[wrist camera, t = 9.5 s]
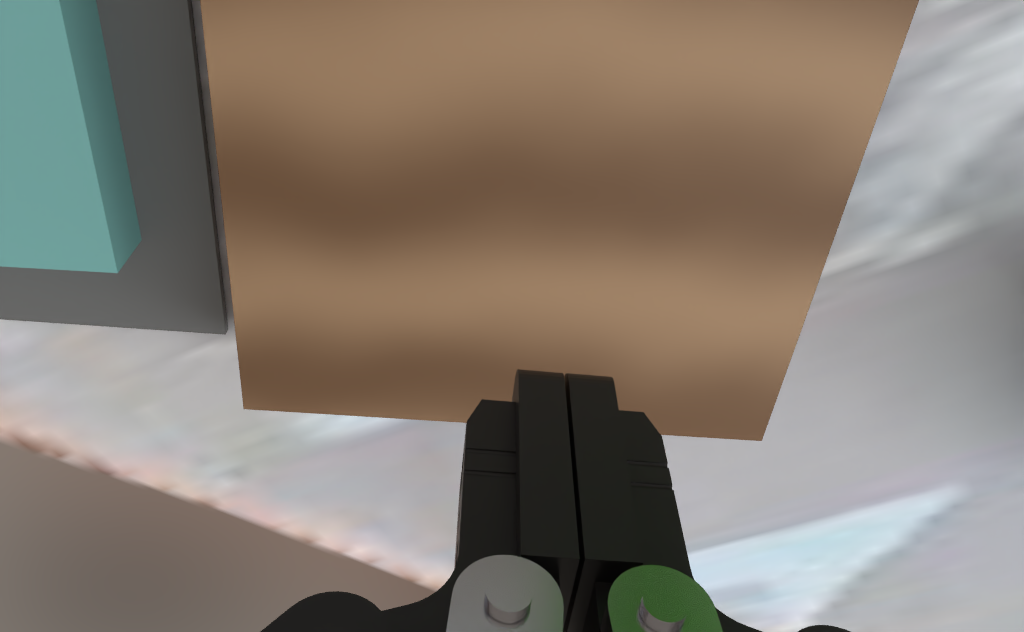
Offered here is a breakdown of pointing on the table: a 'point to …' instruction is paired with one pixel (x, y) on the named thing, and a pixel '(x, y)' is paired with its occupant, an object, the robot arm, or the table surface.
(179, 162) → the mat
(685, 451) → the table surface
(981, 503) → the table surface
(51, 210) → the teal flat block
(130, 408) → the table surface
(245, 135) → the wooden block
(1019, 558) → the table surface
